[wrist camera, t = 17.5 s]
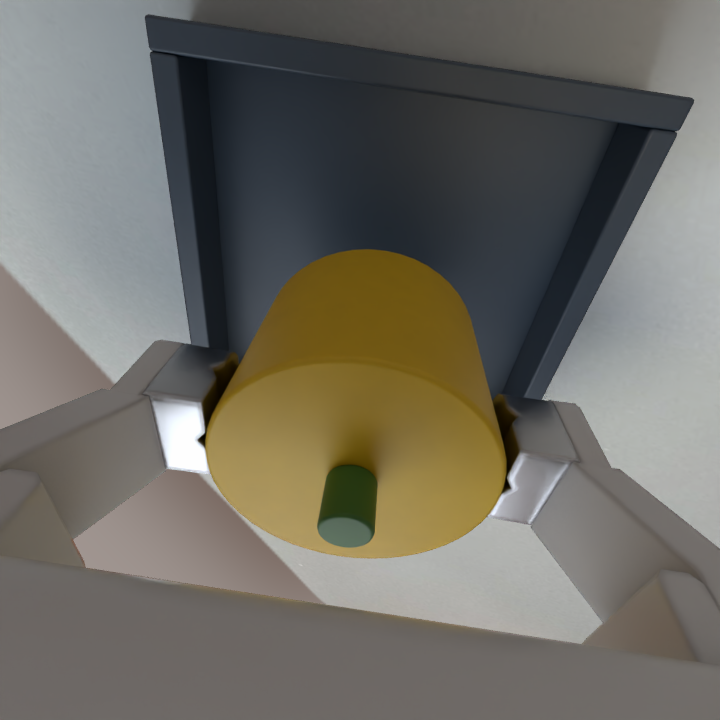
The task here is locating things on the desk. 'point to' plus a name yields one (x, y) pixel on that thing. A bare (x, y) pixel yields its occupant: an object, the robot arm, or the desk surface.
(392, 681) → the robot arm
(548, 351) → the tray
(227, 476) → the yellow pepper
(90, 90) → the desk surface
